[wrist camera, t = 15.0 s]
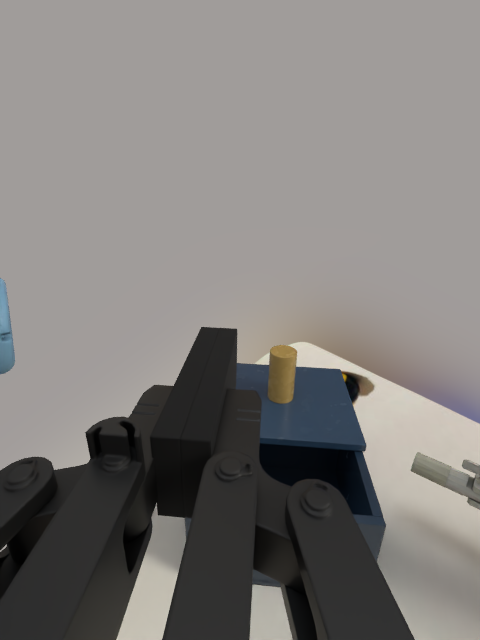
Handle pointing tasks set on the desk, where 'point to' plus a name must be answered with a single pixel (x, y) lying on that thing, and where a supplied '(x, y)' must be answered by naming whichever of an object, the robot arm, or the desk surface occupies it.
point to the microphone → (450, 477)
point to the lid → (302, 403)
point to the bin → (333, 468)
